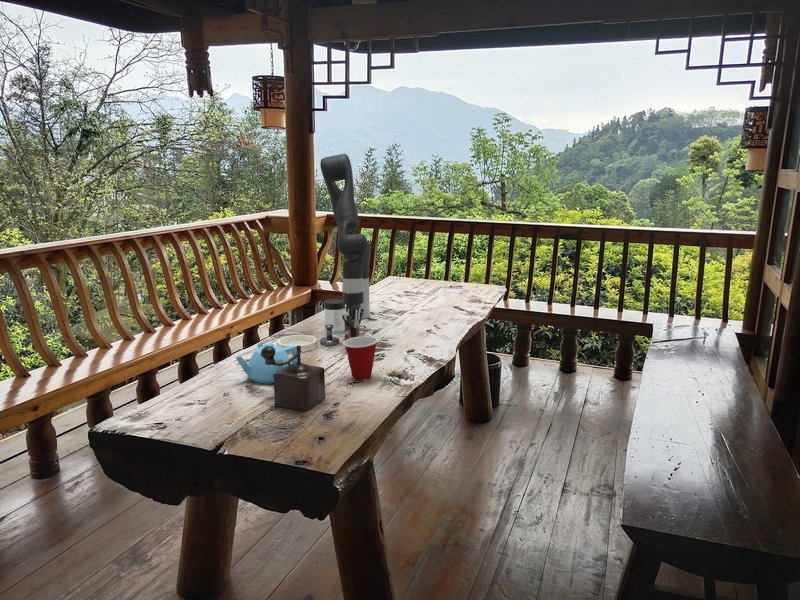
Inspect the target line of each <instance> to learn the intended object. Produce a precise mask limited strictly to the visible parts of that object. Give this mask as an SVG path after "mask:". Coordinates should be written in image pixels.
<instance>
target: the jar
mask: <svg viewBox="0 0 800 600" xmlns="http://www.w3.org/2000/svg"><path fill="white" fill-rule="evenodd" d="M323 305H324V307H323V308H324V310H323V311H324V312H323V313H324V326H325V325H328V324H331V325H334V328H332V334H333V331H345V324H344V320H343V318H342V316H343V315H345V314H346V304H344V303H343V299H340V298H339V299H338V298H331V299H326V300H324V301H323ZM324 333H326V334H327V329H326V328H325V327H324Z"/></svg>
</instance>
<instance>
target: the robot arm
mask: <svg viewBox="0 0 800 600" xmlns="http://www.w3.org/2000/svg"><path fill="white" fill-rule="evenodd" d="M319 165H320V171H321V175H322V177H323V180H324V183H325V186H326V187H325V188H326V189H327V192H328V195H329V198H330V199H329V200H330V204H331V209H332V212H333V215H334V216H333V217H334V219H335V220H334V221H335V223H336V225H337V230H338V235H337V241H336V249H337V251H338V252H339V253H340V254H341V255H343V258H344V260H345V261H344V262H343V263H342V285H341V286H342V288H341V289H342V290H341V291H342V292H341V293H342V300H343V303H344V304H345V315H343V316H342V318H343V320H344V322H345V324H346V326H347V327H350V337H352V338H354V337H357V327H358V324H361V322H362V320H364V319H368V318H370V314H371V313H370V256H371V255H370V252H371V251H370V250H371V248H370V243H369V241H368V238H367V237H366V235H365V234H363V233H352V232H354V231H355V230H357V229H358V227H359V220H358V219H359V213H358V209H357V205H356V202H355V187H354V176H353V167H352V161H351V159H350V157H349V155H348V154H346V153H341V154H336V155H335V154H334V155H332V156H331V155H330V156H325V157H323V158H321V160H320V164H319ZM339 181H344V186H343V189H341V188H340V187H339V186H338V184H337V183H336V182H339Z"/></svg>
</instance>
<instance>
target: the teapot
mask: <svg viewBox="0 0 800 600" xmlns="http://www.w3.org/2000/svg"><path fill="white" fill-rule="evenodd" d="M267 346H270V347H273V348H274V349H275V351H276V352H275V355H274V359H275V360H276V361H275V363H282V362H285V361H287V360H289V359H290V358H291V357H290V356H289V355H288V354H290V353H289V352H291V351H292V353H291V354H292V357H293V356H294V355H295V354H296V351H297V348H296V346H295V345H293V346H290V347H287V348H284V349H283V348H281V347H279V346H277V345H274V343H273V342H272V343H271V342H268V343H265V344H263V343H262V342H260V343H259V342H258V343H257V348H255V351H254V352H253V353H252V355H251V357H250V359H249V360H248V363H247V362H246V360H245V359H244V358H243V356H242V355H239V356H236V357H235V359H236V361H237V362H238V364H239V365H240V367H241V369H242V370H243V372H244V373H245V375H247V377H248V378H249V379H250V380H252V382H253V383H256V382H258V383H257V384H261V383H263V385H268V384H269V385H271V384H272V383H273V384H274V377H273V374H274V373H276V372H278V371H280V370H282V368H283V367H285V366H287V365H288V364H286V365H283V366H275V365H266V364H265V359H264V358H263V357H261V355H260V354H261V350H262V349H263V348H264V347H267ZM300 359H301V360H302V358H301V357H300ZM296 362H297V358H295V359H294V360H293V361H291V362H290V364H293V363H296ZM273 384H272V385H273Z"/></svg>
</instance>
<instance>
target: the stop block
mask: <svg viewBox="0 0 800 600" xmlns="http://www.w3.org/2000/svg"><path fill="white" fill-rule="evenodd" d="M344 324H345V322H344ZM360 324H361V323H360ZM360 324H358V327H357V331H360V329H361V328H360V326H361V325H360ZM345 330H349V331H350V327H347V326H346V324H345ZM347 339H349V336H348V335H344V341H345V340H347Z"/></svg>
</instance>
